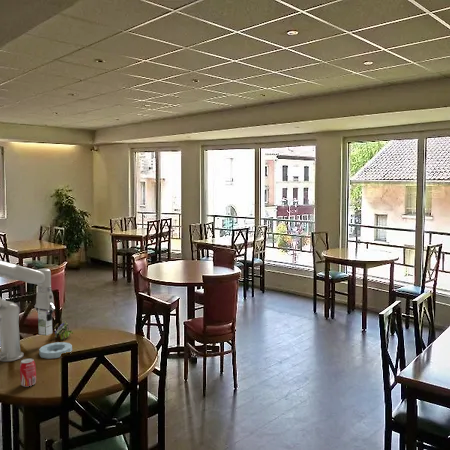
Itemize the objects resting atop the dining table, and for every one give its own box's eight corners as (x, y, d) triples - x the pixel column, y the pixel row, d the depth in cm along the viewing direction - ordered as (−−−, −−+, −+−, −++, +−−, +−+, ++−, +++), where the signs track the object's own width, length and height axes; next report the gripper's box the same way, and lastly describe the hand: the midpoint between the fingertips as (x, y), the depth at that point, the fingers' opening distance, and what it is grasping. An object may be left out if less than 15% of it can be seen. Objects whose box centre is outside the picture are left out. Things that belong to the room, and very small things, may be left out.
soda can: (23, 381, 232) (22, 358, 231) (38, 381, 233) (37, 357, 232) (18, 388, 225) (17, 363, 224) (34, 387, 226) (32, 362, 225)
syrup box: (52, 333, 284) (52, 309, 283) (46, 335, 278) (45, 311, 277) (44, 332, 286) (44, 308, 285) (38, 334, 280) (37, 310, 279)
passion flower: (58, 346, 297) (54, 328, 302) (75, 340, 300) (71, 322, 305) (55, 341, 287) (51, 322, 292) (73, 335, 290) (69, 317, 295)
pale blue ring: (56, 360, 259) (55, 354, 259) (33, 355, 267) (32, 350, 266) (78, 349, 275) (77, 344, 274) (55, 345, 282) (55, 340, 282)
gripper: (60, 289, 280) (60, 320, 281) (38, 287, 287) (39, 316, 288) (50, 292, 273) (51, 323, 274) (28, 289, 280) (29, 319, 282)
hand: (45, 319), depth 281 cm, fingers closed on syrup box, 6 cm apart
